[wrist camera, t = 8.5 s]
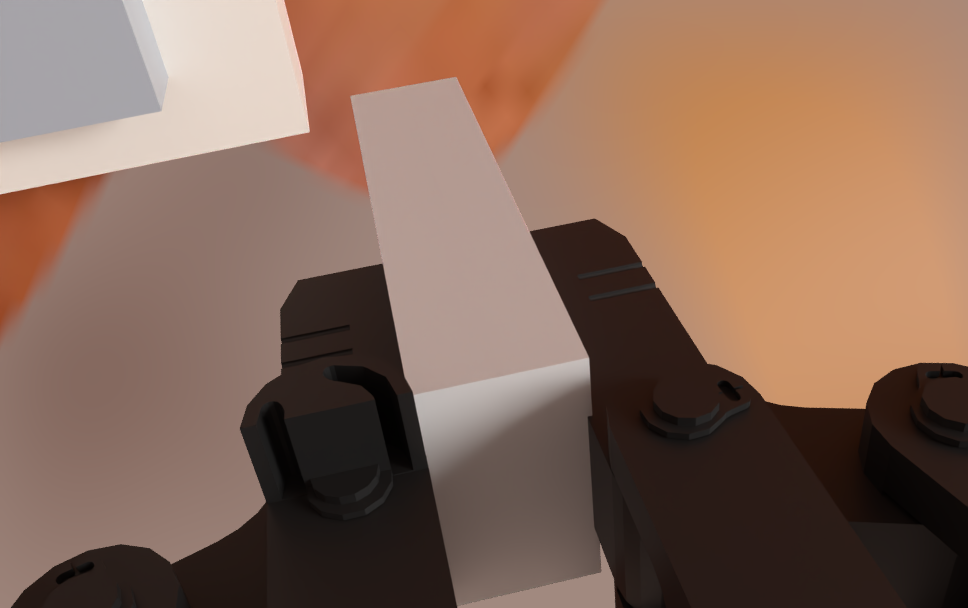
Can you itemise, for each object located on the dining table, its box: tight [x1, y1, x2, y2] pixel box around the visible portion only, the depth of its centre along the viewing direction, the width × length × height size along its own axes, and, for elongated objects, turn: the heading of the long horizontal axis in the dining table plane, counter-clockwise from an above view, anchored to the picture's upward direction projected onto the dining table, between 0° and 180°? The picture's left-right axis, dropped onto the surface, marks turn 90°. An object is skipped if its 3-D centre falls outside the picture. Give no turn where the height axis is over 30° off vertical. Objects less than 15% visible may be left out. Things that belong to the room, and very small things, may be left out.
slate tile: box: [0, 0, 169, 143], centre depth 23 cm, size 5×5×2 cm
